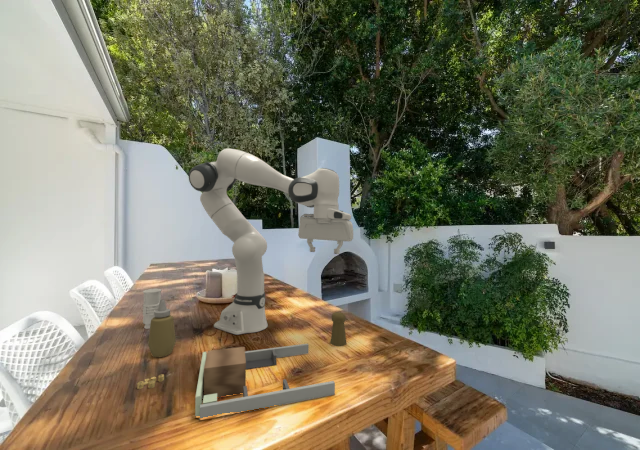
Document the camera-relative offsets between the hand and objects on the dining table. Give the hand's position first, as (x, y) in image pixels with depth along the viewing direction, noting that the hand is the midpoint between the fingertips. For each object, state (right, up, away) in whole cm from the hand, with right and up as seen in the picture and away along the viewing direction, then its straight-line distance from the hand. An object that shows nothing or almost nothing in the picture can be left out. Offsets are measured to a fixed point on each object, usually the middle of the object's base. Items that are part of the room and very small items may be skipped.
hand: (324, 252), depth 101 cm
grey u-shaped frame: (-17, -33, -22) cm, 43 cm away
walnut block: (-27, -33, -25) cm, 50 cm away
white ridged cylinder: (-72, -33, +18) cm, 81 cm away
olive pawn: (+5, -34, +3) cm, 34 cm away
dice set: (-47, -34, -25) cm, 63 cm away
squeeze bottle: (-54, -33, -7) cm, 64 cm away
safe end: (-31, -33, -26) cm, 52 cm away
